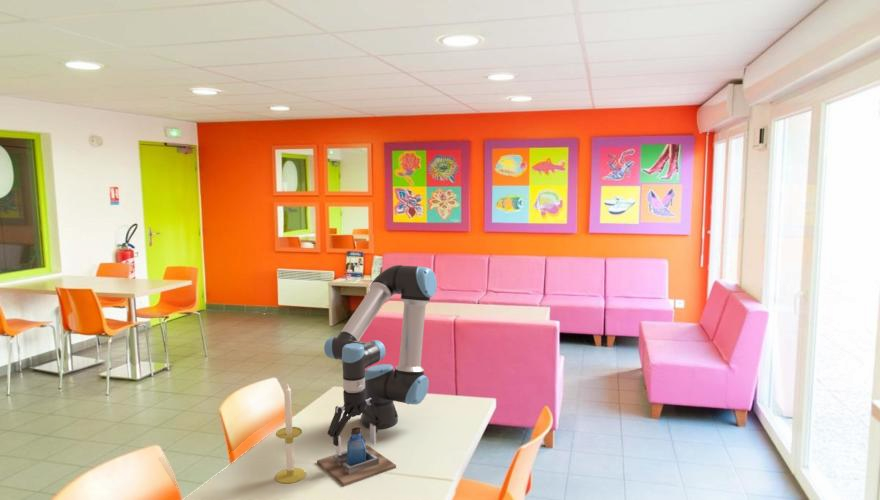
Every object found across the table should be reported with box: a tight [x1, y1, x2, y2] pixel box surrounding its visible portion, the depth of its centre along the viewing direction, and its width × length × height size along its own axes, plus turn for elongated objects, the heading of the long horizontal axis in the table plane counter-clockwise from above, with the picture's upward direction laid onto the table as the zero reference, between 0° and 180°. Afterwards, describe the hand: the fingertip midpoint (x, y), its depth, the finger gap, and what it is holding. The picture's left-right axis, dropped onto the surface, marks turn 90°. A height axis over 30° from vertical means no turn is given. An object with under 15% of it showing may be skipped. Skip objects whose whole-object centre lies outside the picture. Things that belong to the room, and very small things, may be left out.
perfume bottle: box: [346, 427, 367, 466], centre depth 204 cm, size 6×6×12 cm
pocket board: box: [316, 444, 397, 487], centre depth 204 cm, size 20×20×3 cm
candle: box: [274, 383, 307, 484], centre depth 195 cm, size 10×10×32 cm
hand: (356, 448), depth 204 cm, fingers open, 13 cm apart
